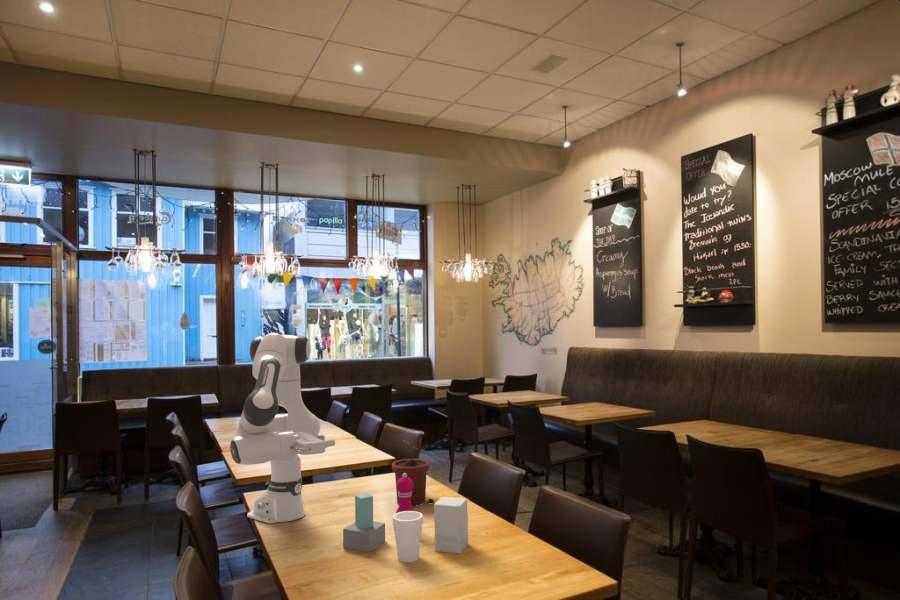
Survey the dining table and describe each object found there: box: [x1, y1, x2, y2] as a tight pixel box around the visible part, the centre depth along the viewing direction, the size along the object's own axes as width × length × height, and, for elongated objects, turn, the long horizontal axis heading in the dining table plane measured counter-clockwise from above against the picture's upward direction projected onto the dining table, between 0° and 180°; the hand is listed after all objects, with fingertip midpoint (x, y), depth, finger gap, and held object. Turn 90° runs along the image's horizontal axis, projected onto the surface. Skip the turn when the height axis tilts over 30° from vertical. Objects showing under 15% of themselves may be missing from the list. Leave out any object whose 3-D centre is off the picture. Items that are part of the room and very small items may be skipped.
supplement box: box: [433, 496, 469, 554], centre depth 183 cm, size 9×9×15 cm
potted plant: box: [391, 439, 435, 507], centre depth 234 cm, size 18×22×25 cm
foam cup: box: [392, 510, 424, 563], centre depth 175 cm, size 10×9×13 cm
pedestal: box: [342, 520, 386, 553], centre depth 187 cm, size 10×10×6 cm
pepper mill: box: [395, 473, 415, 514], centre depth 200 cm, size 7×7×20 cm
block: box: [354, 492, 374, 529], centre depth 187 cm, size 4×4×10 cm
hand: (329, 440), depth 182 cm, fingers open, 8 cm apart
